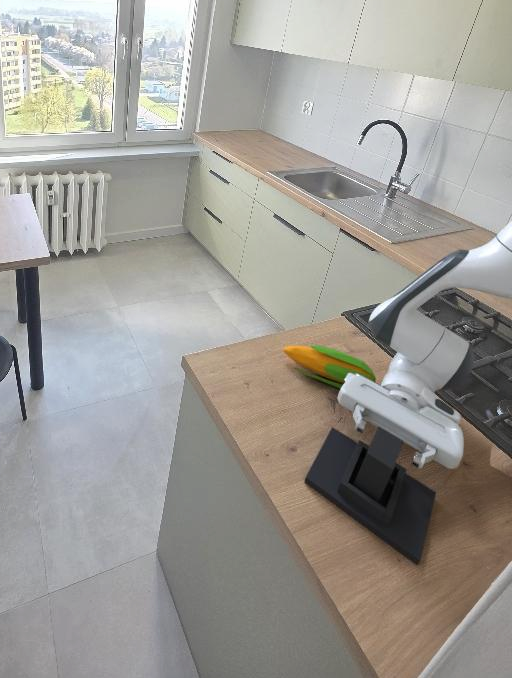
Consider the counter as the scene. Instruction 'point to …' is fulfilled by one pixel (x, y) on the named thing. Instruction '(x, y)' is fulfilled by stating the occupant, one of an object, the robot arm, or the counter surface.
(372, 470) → the upright pad
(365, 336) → the counter surface
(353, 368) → the corn
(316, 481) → the base pad
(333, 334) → the counter surface
